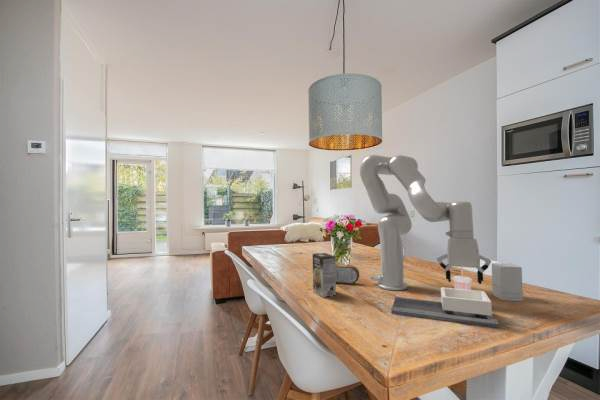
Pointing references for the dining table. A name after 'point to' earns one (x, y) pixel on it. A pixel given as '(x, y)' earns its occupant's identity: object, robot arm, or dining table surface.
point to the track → (438, 312)
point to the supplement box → (507, 281)
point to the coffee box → (324, 274)
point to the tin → (346, 274)
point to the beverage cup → (462, 282)
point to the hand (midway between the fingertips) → (464, 282)
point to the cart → (466, 301)
